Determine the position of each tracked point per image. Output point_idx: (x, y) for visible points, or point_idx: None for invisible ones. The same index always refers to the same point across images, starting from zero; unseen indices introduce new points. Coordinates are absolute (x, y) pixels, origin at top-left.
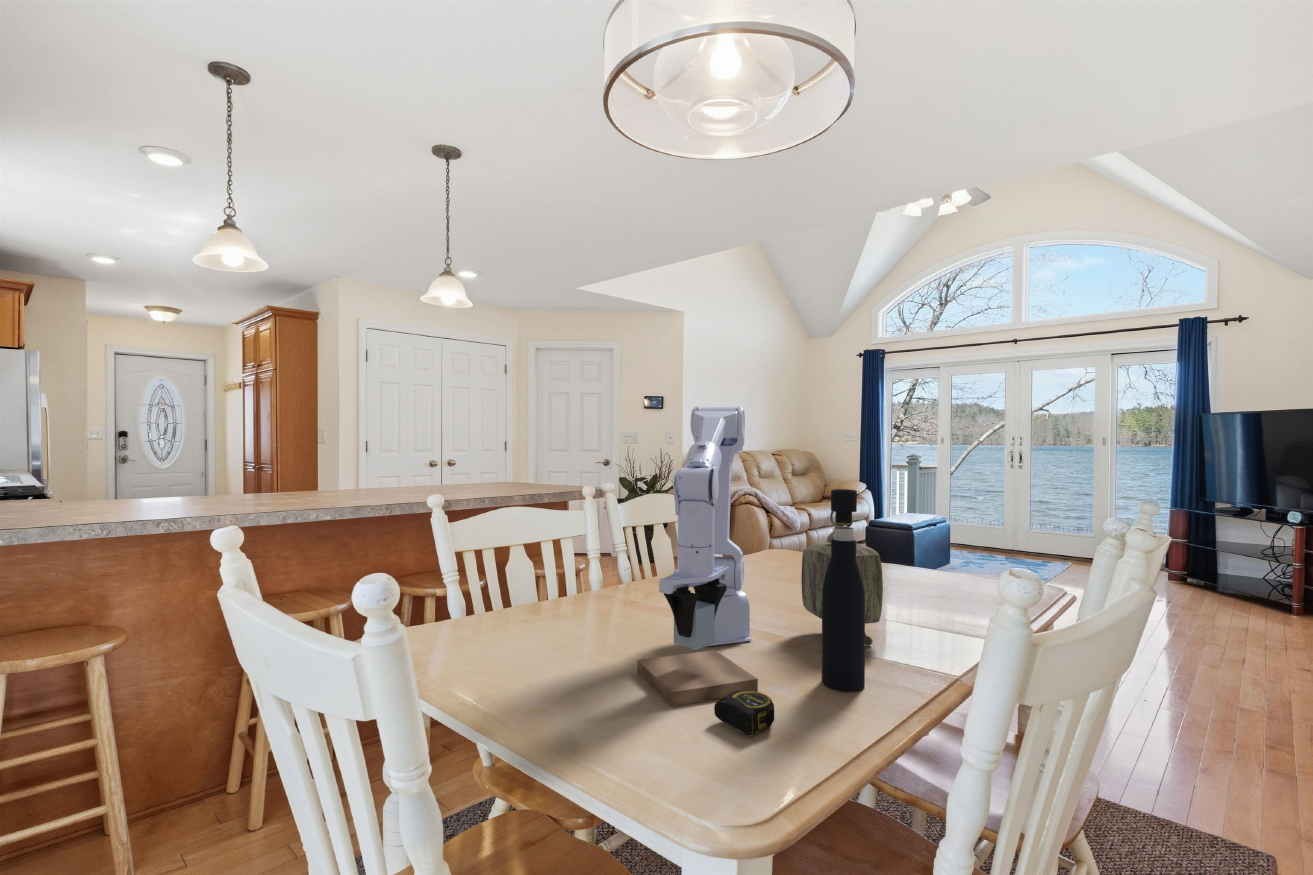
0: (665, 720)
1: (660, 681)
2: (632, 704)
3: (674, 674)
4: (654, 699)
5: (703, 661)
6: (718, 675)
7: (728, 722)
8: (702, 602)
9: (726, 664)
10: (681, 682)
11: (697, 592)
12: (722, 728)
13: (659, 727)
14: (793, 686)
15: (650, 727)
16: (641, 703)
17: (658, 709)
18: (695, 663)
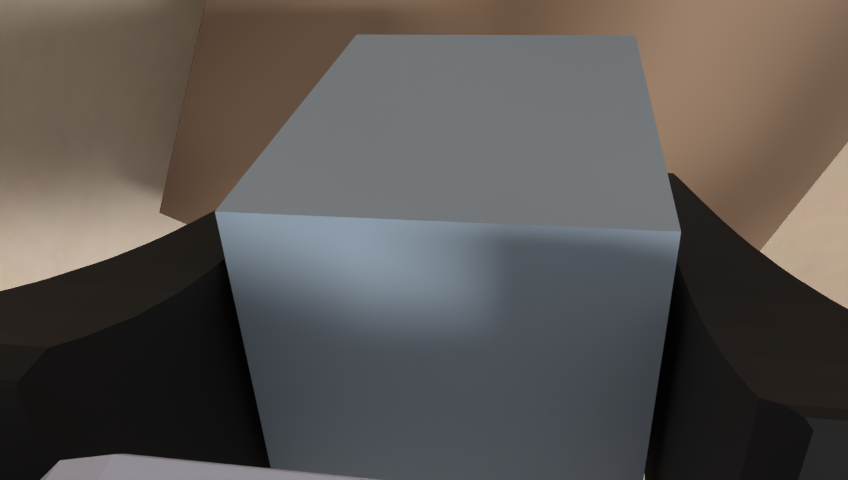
0: (93, 241)
1: (191, 73)
2: (38, 24)
3: (333, 58)
4: (167, 62)
5: (678, 38)
6: None
7: None
8: (621, 414)
9: (729, 189)
10: None
11: (709, 397)
12: None
13: (43, 261)
14: None
15: (11, 238)
16: (84, 49)
17: (122, 155)
18: (601, 21)
